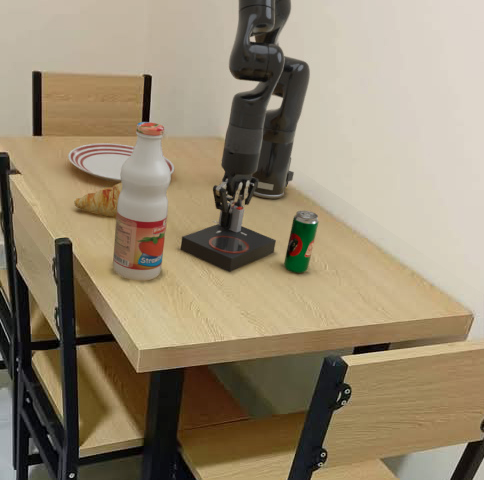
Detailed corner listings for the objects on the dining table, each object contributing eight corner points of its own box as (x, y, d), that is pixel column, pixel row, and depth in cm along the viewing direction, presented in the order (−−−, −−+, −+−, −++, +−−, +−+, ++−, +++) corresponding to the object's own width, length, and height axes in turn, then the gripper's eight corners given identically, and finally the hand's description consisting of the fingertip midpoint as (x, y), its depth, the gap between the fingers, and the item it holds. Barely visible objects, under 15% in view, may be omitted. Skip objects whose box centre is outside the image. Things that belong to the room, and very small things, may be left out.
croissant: (76, 230, 165) (80, 206, 158) (69, 195, 170) (72, 171, 163) (166, 227, 172) (174, 204, 165) (157, 193, 176) (164, 170, 170)
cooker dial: (218, 225, 161) (221, 202, 158) (222, 223, 162) (226, 200, 159) (236, 232, 158) (240, 209, 155) (240, 231, 159) (244, 207, 157)
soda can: (306, 276, 151) (319, 221, 145) (282, 271, 151) (293, 216, 145) (308, 266, 155) (320, 212, 149) (284, 261, 156) (295, 207, 149)
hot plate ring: (224, 233, 157) (225, 232, 157) (256, 247, 153) (257, 246, 153) (200, 242, 151) (200, 241, 151) (232, 257, 147) (233, 256, 147)
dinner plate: (192, 175, 197) (194, 163, 195) (133, 199, 177) (134, 185, 175) (110, 148, 208) (111, 137, 206) (45, 168, 188) (45, 155, 186)
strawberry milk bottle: (124, 256, 148) (137, 114, 134) (168, 268, 146) (185, 125, 131) (103, 273, 141) (114, 125, 126) (149, 286, 138) (165, 136, 124)
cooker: (223, 229, 167) (225, 216, 165) (276, 251, 160) (279, 238, 158) (174, 247, 155) (176, 233, 154) (229, 272, 148) (231, 257, 146)
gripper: (247, 137, 157) (234, 214, 166) (207, 146, 148) (195, 227, 157) (276, 147, 154) (261, 225, 163) (237, 157, 144) (223, 239, 153)
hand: (229, 225), depth 160 cm, fingers closed
